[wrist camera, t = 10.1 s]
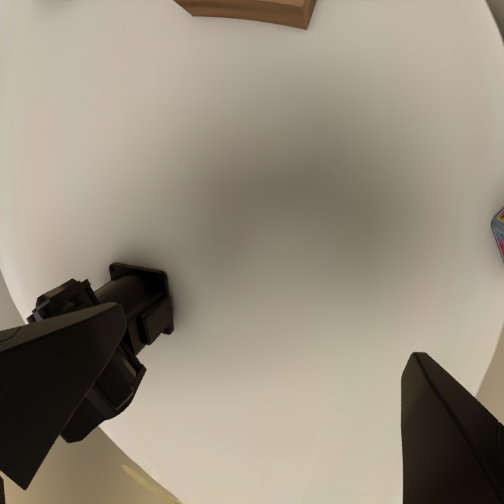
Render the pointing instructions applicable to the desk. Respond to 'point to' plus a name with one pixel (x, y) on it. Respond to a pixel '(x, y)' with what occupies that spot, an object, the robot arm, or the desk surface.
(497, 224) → the ink cartridge box
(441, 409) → the robot arm
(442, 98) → the desk surface
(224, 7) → the walnut block
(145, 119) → the desk surface
